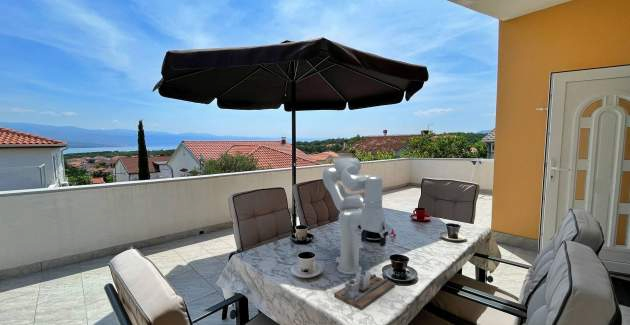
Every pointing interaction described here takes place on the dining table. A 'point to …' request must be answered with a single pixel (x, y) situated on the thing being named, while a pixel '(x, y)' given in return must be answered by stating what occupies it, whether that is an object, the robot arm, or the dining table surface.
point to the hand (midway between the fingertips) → (373, 243)
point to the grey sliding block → (363, 279)
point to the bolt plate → (364, 292)
